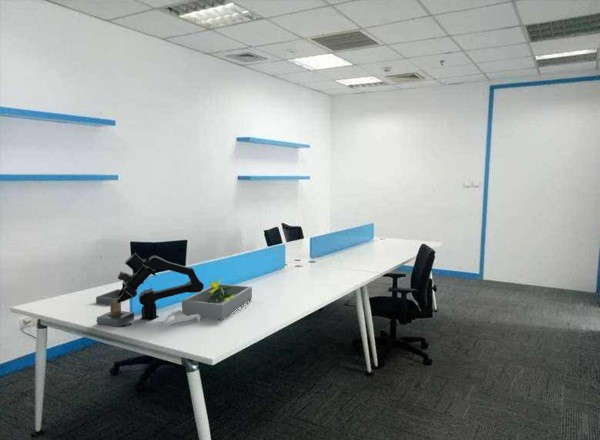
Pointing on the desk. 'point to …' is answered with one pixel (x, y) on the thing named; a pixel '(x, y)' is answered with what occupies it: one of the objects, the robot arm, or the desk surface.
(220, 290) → the daffodil flowers
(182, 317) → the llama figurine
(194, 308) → the planter
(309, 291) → the desk surface
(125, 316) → the housing
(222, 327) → the desk surface
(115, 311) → the end plug
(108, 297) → the tray
